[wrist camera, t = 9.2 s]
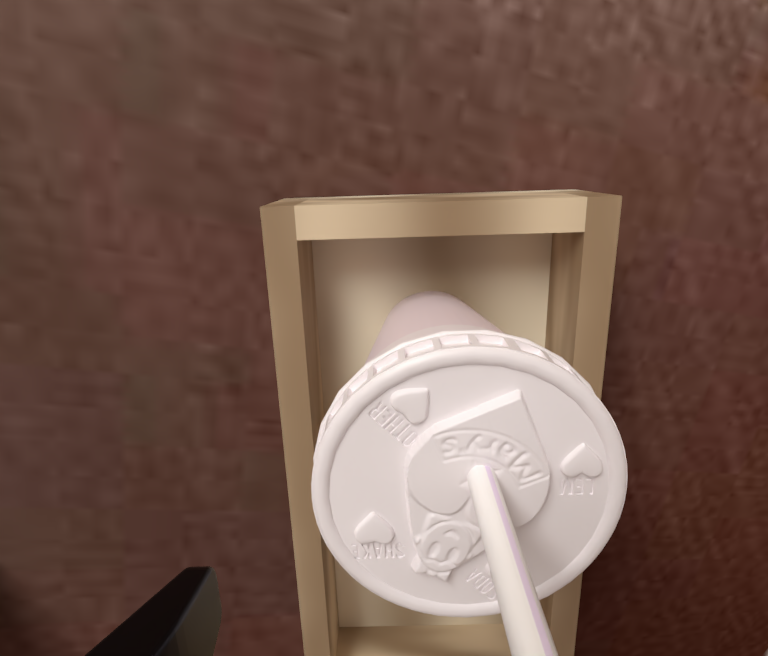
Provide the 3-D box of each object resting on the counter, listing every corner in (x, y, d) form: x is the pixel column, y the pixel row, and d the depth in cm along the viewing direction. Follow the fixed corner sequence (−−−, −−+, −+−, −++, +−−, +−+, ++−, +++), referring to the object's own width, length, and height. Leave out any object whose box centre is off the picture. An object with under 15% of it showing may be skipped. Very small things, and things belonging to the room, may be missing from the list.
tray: (321, 626, 25) (309, 709, 21) (285, 198, 19) (259, 207, 15) (540, 621, 25) (568, 704, 21) (574, 189, 19) (622, 196, 15)
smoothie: (545, 290, 19) (925, 597, 6) (474, 436, 21) (632, 934, 7) (380, 227, 18) (359, 404, 5) (322, 384, 20) (192, 824, 7)
